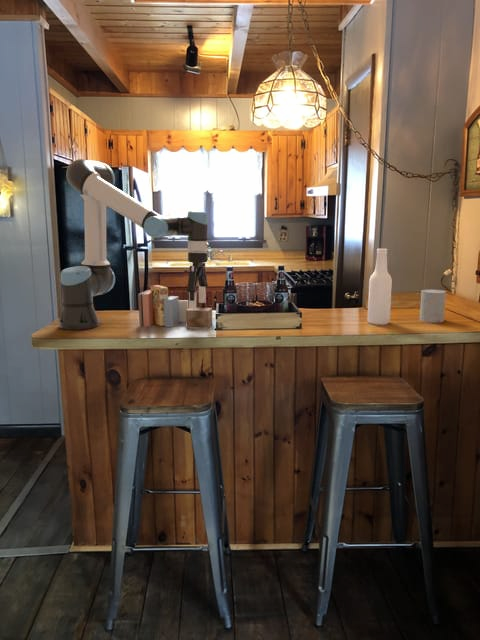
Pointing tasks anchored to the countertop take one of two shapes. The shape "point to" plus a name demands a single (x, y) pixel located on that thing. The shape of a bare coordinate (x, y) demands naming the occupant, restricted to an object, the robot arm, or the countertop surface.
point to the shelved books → (169, 310)
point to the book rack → (182, 309)
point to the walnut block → (199, 318)
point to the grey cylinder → (432, 305)
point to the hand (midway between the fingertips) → (197, 305)
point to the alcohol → (380, 291)
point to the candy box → (159, 303)
